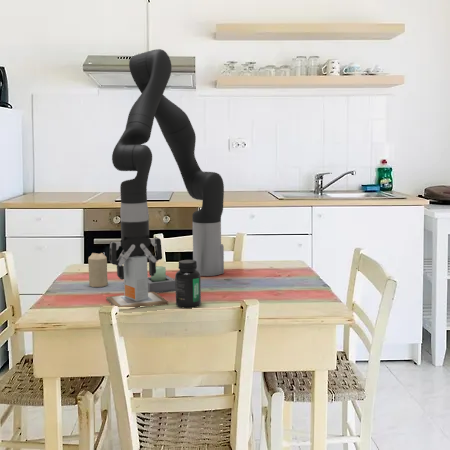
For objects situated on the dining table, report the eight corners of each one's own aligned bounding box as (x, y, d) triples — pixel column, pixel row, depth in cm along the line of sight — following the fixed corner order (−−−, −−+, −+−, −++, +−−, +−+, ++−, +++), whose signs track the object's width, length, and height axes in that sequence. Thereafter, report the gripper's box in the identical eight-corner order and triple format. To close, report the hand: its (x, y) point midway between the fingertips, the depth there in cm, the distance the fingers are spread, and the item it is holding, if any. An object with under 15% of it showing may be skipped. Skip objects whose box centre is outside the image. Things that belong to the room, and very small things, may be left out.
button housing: (167, 284, 204) (166, 275, 204) (175, 290, 197) (175, 280, 196) (141, 287, 201) (141, 277, 200) (149, 293, 194) (149, 283, 193)
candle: (108, 282, 207) (107, 251, 206) (106, 287, 202) (105, 254, 200) (90, 283, 207) (89, 251, 206) (87, 287, 202) (86, 254, 200)
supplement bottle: (203, 307, 179) (202, 263, 177) (177, 309, 177) (176, 264, 176) (198, 300, 185) (198, 258, 184) (174, 302, 184) (173, 259, 182)
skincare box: (123, 297, 186) (122, 255, 184) (136, 294, 188) (135, 253, 187) (136, 301, 181) (134, 258, 179) (149, 299, 184) (147, 256, 182)
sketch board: (154, 294, 193) (154, 290, 193) (167, 304, 182) (167, 300, 182) (106, 299, 187) (106, 296, 187) (117, 310, 177) (117, 306, 176)
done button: (163, 279, 201) (162, 265, 201) (167, 283, 197) (167, 268, 197) (149, 281, 200) (148, 267, 199) (153, 284, 196) (153, 269, 195)
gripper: (155, 215, 188) (157, 271, 190) (105, 219, 182) (107, 277, 184) (164, 218, 181) (165, 277, 183) (112, 222, 175) (114, 283, 178)
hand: (136, 277), depth 184 cm, fingers open, 8 cm apart
